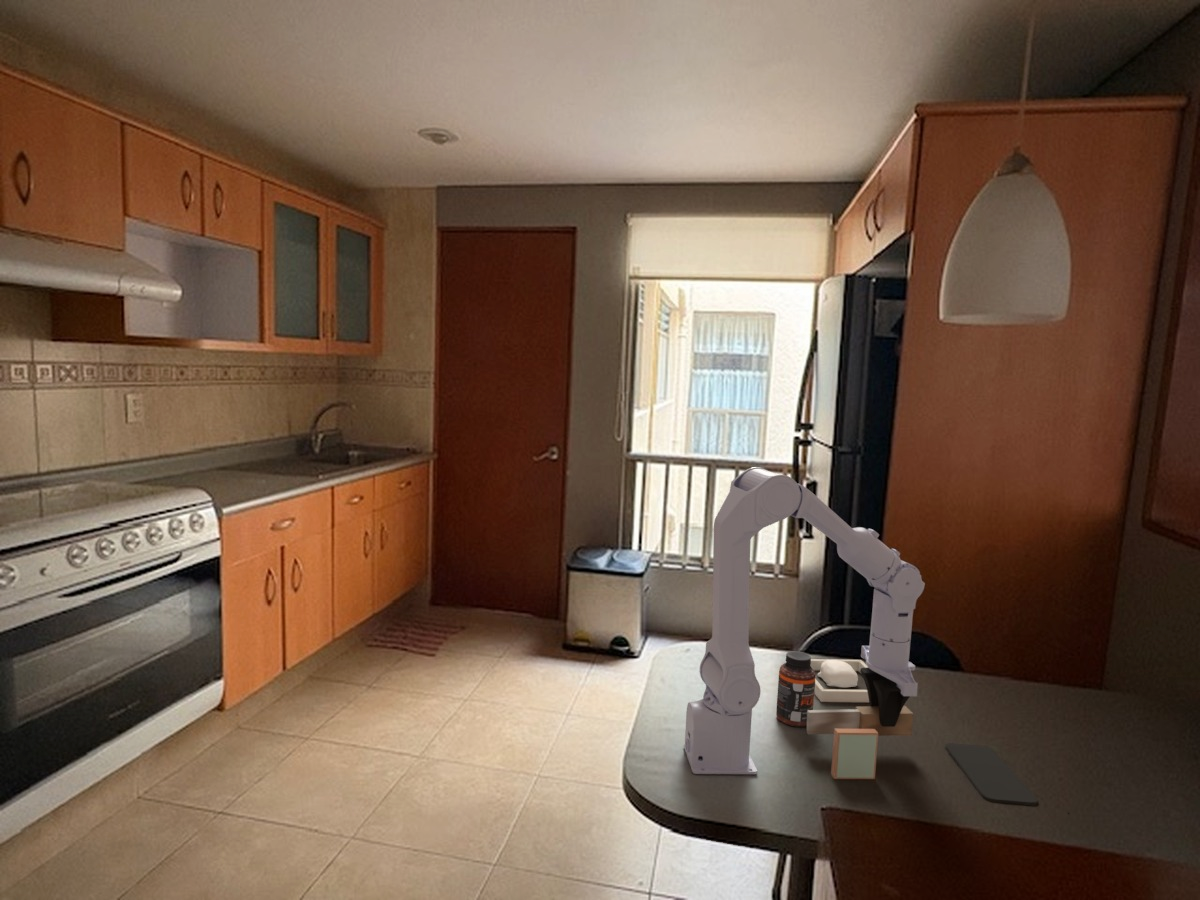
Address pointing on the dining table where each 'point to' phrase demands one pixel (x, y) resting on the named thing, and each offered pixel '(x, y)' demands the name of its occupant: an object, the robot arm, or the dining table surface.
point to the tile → (854, 753)
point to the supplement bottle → (795, 689)
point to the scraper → (857, 721)
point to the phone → (990, 774)
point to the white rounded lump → (838, 674)
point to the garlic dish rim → (839, 694)
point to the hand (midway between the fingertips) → (883, 720)
